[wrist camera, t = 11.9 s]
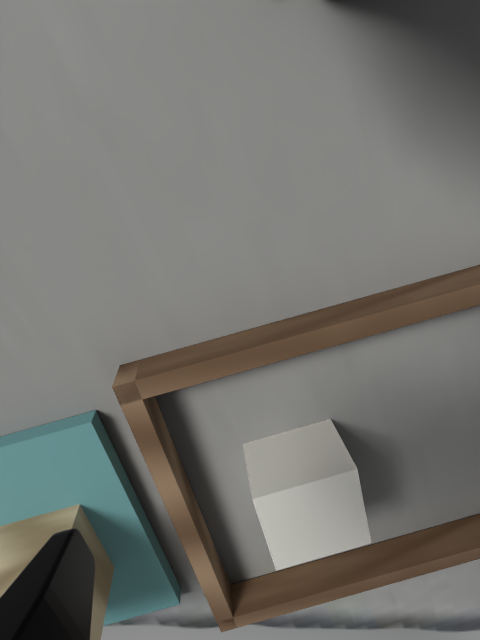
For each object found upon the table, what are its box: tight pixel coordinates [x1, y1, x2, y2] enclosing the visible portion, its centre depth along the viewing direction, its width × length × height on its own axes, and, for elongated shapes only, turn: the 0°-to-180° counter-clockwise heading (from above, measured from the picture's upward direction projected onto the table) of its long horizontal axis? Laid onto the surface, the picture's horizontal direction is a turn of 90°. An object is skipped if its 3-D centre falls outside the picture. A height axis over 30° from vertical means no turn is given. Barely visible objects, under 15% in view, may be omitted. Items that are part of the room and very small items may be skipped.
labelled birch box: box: [0, 504, 114, 640], centre depth 19 cm, size 5×5×6 cm
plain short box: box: [243, 419, 371, 571], centre depth 21 cm, size 5×5×4 cm
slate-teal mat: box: [0, 410, 181, 626], centre depth 22 cm, size 14×10×1 cm
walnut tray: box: [112, 265, 480, 632], centre depth 22 cm, size 18×25×2 cm
